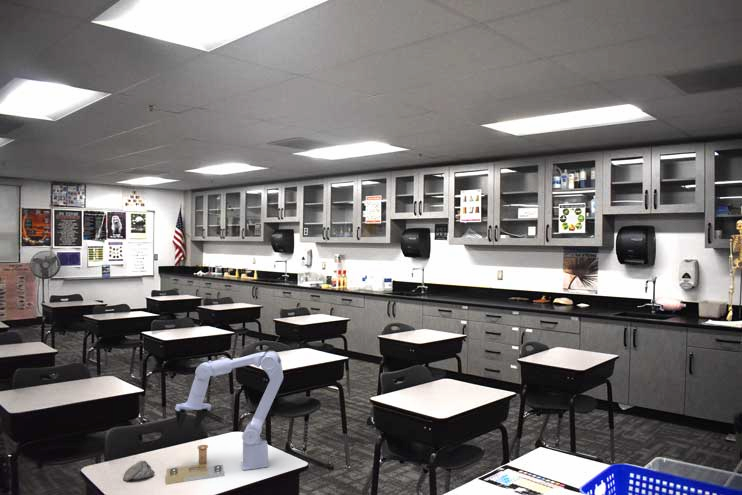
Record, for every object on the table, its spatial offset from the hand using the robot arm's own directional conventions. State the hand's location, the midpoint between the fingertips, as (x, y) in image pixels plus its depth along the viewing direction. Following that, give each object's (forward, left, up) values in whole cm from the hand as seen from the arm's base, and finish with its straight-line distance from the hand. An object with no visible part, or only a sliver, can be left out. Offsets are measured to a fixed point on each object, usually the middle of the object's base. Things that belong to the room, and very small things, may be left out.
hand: (187, 428), depth 203 cm
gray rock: (+17, +2, -16) cm, 23 cm away
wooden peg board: (-3, +9, -15) cm, 18 cm away
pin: (-6, -1, -15) cm, 16 cm away
